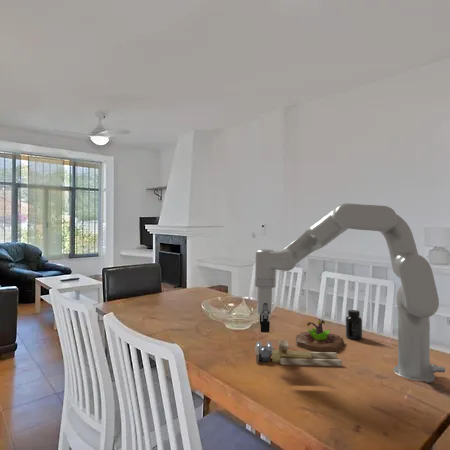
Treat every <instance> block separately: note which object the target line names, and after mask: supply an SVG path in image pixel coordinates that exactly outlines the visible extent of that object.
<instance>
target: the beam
mask: <svg viewBox="0 0 450 450" xmlns="http://www.w3.org/2000/svg"><path fill="white" fill-rule="evenodd" d="M289 349H290V346H289V343H288V340H287V339H278V350H288V351H290V350H289ZM310 353H311V359H306V358H280V365H290V366H291V365H292V366H293V365H294V366H327V367H328V366H329V367H330V366H331V367H342V366H343V361H342V359H341V358H340V359H338V353H337V352H318V351H310ZM255 363H257V364H259V363H260V359H259V349H256V354H255Z"/></svg>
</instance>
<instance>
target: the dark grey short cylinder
mask: <svg viewBox="0 0 450 450" xmlns="http://www.w3.org/2000/svg"><path fill="white" fill-rule="evenodd" d="M261 346H262V347H260V348H259V361H260V362H262V363H268V362H270V361H271V360H272V355H271V353H270V349H269V348H268V347H267V345H261Z"/></svg>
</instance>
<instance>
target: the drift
mask: <svg viewBox="0 0 450 450" xmlns="http://www.w3.org/2000/svg"><path fill="white" fill-rule="evenodd" d="M310 352H311V350H309V351H308V350H305V351H303V350H279V349H273V350H272V355H271V360H272V363H280V358H306V359H312V358H311V353H310Z"/></svg>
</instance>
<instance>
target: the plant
mask: <svg viewBox="0 0 450 450" xmlns="http://www.w3.org/2000/svg"><path fill="white" fill-rule="evenodd" d="M317 324H318V325H316V323H313V322H309V321H308V322H307V323H306V326H307V327H309V326H311V325H312V326H314V327H315V328H313V327H312V328H311V329H308V328H306V330H307V331H304V332H300V334H297V335H295V343H296V346H297V347H299V348H303V349H304V350H306V351H308V350H309V351H311V352H336V353H337V352H339V351H340V349H341V348H342V347H344V346H345V341H344V338H343V337H340V335H338V334H334V333H330V331H331V329H326V330H324V328H323V325H325V324H326V322H325V320H321V318H319V319H318V320H317Z"/></svg>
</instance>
